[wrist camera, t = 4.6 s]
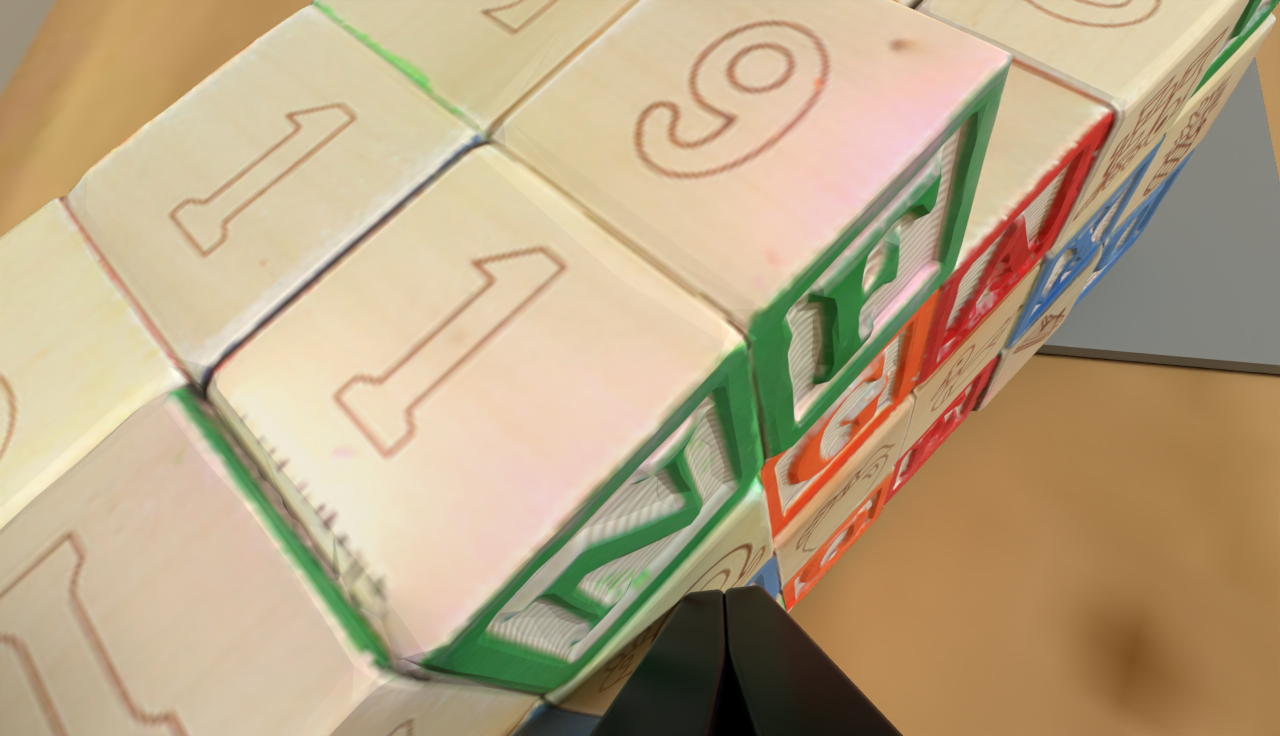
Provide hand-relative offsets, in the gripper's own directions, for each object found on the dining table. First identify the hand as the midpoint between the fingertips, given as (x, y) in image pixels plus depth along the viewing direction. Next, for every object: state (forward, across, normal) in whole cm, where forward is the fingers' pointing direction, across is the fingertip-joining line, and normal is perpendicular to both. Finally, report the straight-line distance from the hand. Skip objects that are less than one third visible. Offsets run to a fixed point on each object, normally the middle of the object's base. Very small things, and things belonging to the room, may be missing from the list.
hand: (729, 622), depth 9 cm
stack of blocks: (+9, 0, +3) cm, 9 cm away
